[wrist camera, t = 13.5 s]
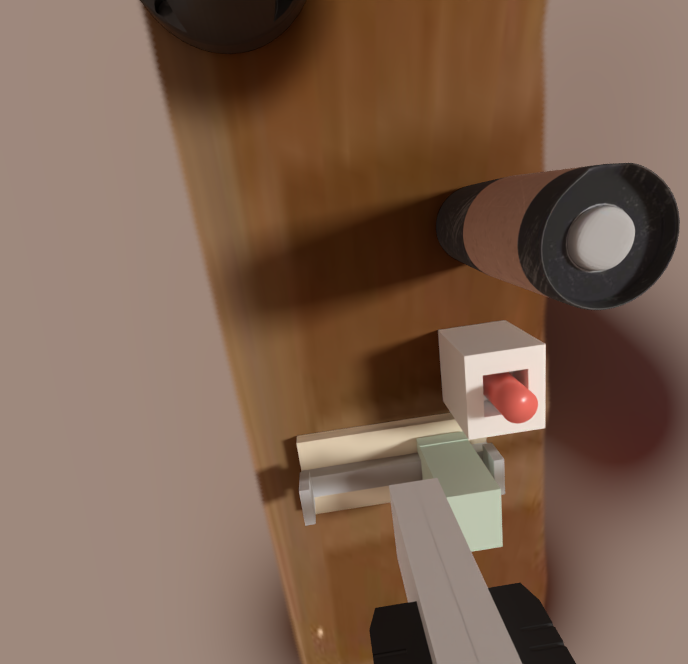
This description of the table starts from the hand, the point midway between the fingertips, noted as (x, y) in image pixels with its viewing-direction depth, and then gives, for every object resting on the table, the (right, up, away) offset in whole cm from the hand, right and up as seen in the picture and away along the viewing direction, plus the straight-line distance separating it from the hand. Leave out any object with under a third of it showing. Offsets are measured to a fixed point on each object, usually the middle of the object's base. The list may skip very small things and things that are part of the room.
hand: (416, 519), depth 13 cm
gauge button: (+12, +1, +26) cm, 29 cm away
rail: (+3, -8, +34) cm, 35 cm away
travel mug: (+10, +16, +28) cm, 34 cm away
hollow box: (+11, +3, +32) cm, 34 cm away
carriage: (+8, -8, +33) cm, 35 cm away
